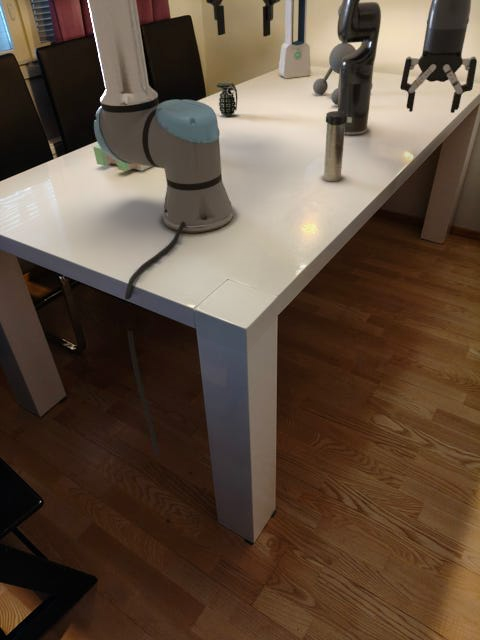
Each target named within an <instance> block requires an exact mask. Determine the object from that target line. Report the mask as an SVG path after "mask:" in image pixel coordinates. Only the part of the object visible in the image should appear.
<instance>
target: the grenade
mask: <svg viewBox="0 0 480 640" xmlns="http://www.w3.org/2000/svg"><path fill="white" fill-rule="evenodd" d="M215 87H217V88H219V89H221V93H219V97H218V101H219V102H218V106H219V108H218V109H219V112H220V114H221V115H222V116H224V117H231V116H233V115H234V113H235V112H236V111H237V108H238V89H237V87H236V85H235V84H234V83H233V82H218V83H217V84H216V86H215ZM232 91H233V92H232ZM234 94H235V96H234Z"/></svg>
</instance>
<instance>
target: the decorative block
mask: <svg viewBox="0 0 480 640" xmlns="http://www.w3.org/2000/svg"><path fill="white" fill-rule="evenodd" d="M92 148H93V152H94V153H93V154H94V156H95V161H96V164H97V165H100V166H103V167H104V166H106V165H109V164H112V165H116V166H117V169H118V170H119V171H122V172H123V171H124V172H128V171H129V170H137V171H141V172H143V171H145V170H147V169H150V168H152V166H146V165H139V164H128V163H124V162H122V161H118V160H115V159H112V158H111V157H109V156H108V155H106V154H105V153H104V151H103V150H102V149H101V147H100V146H99V144H98V145H95V146H92Z"/></svg>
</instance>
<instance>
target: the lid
mask: <svg viewBox="0 0 480 640" xmlns="http://www.w3.org/2000/svg"><path fill="white" fill-rule="evenodd" d="M325 122H326V124H327V123H328V124H334V125H339V124H344V123H346V122H347V113H346V112H342V111H338V110H333V111H328V112H326V114H325Z"/></svg>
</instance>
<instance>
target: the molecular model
mask: <svg viewBox="0 0 480 640" xmlns="http://www.w3.org/2000/svg"><path fill="white" fill-rule="evenodd" d="M341 5H342V3H341V4H340V5H339V7H338V10H337V15H338V16H339V14H340V9H341ZM356 50H357V49H356V48H355V46H354V45H352V43H343V42H340V43H338V44H337V45H335V46H334V47H333V48H332V49H331V52H330V53H329V57H328V63H329V66H330V67H329V69H328V70H327V72H326V73H325V75H324V77H323V78H317V79H316V80H315V81H314V82H313V85H312V90H313V92H314V93H315V94H316V95H319V96H321V95H324V94H325V93H326V92H327V90H328V88H329V84H328V81H327V80H328V79H329V77H330V76H331V74H332V72H334V73H336V74H339V75H338V85H337V88H335V89H334V90H333V91H332V93H331V97H330V99H331V101H332V103H333V104H334V105H335V106H338V99H339V85H340V70H341V61H342V59H343V58H344V57H345V56H347V55H349V54H351V53H353V52H354V51H356ZM372 89H373V85H372V86H371V90H372Z"/></svg>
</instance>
